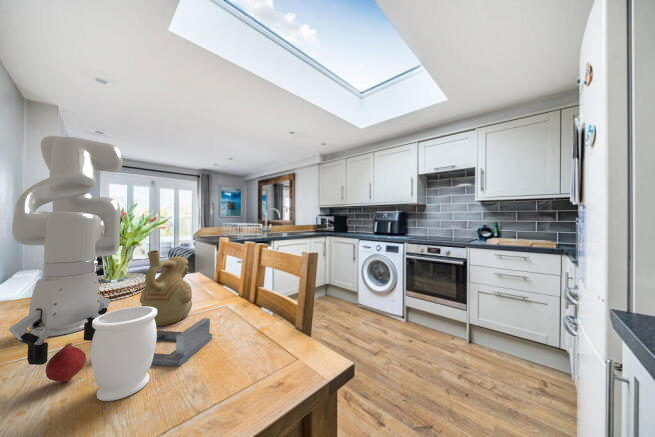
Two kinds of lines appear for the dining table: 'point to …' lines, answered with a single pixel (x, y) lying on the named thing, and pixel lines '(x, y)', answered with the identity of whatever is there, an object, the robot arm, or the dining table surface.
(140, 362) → the jar
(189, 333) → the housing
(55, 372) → the onion
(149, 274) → the ceramic vessel
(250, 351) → the dining table surface
